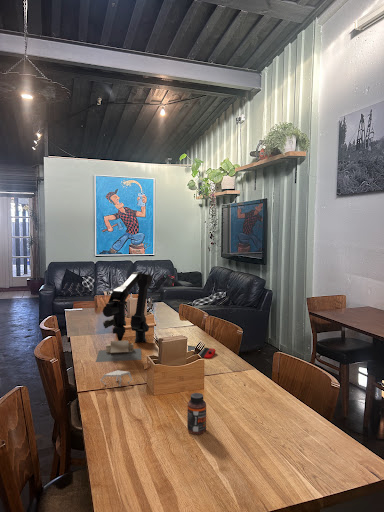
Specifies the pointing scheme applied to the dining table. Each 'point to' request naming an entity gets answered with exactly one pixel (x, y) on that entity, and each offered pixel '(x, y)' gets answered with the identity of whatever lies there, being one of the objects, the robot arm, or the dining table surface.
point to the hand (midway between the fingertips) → (119, 342)
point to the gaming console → (204, 352)
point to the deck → (119, 347)
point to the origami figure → (118, 374)
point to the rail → (108, 348)
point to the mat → (118, 356)
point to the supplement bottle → (196, 414)
